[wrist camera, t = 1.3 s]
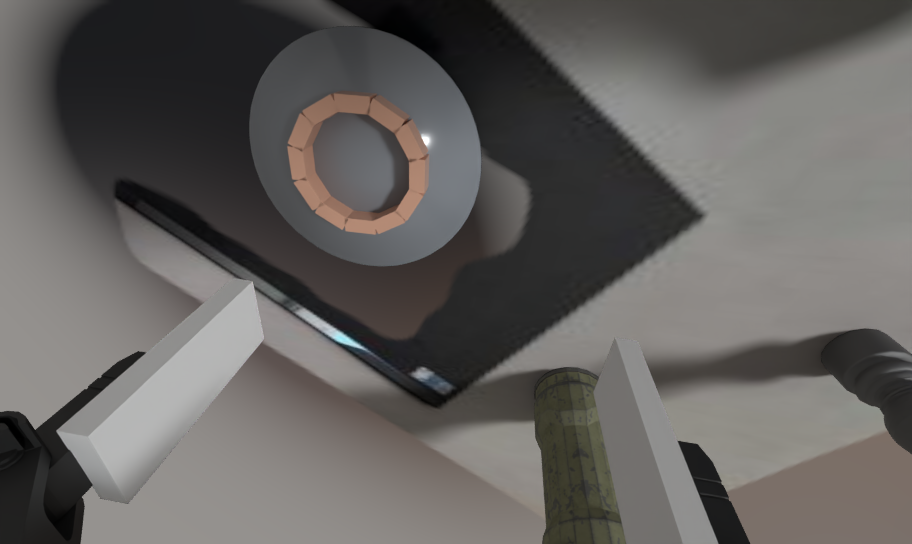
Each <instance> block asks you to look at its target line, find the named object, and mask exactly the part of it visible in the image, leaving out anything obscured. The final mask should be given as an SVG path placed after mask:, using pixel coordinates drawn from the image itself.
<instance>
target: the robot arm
mask: <svg viewBox="0 0 912 544" xmlns="http://www.w3.org/2000/svg"><path fill="white" fill-rule="evenodd" d="M263 340H264V336H263V331H262V326H261V321H260V316H259V311H258V306H257V301H256V296H255V291H254V286H253V281H247V280H241V279H234V278H232V279H231V280H230V281H229V282H228V283H227V284H225V285H224V286H223V287H222V288H221V289H220V290H218V291H217V292H216V293H215V294H214V295H213V296H211V297H210V298H209V299H208V300H207V301H206V302H205V303H203V304H202V305H201V306H200V307H199V308H198V309H197V310H195V311H194V312H193V313H192V314H191V315H190V316H188V317H187V318H186V319H185V320H184V321H183V322H181V323H180V324H179V325H178V326H177V327H176V328H175V329H174V330H172V331H171V332H170V333H169V334H168V335H166V336H165V337H164V338H163V339H162V340H161V341H159V342H158V343H157V344H156V345H155V346H154V347H153V348H151V349H150V350H149V351H148V352H147V353H145V352H139V351H138V352H136V353H134V354H132V355H130V356H128V357H126V358H125V359H122V360H121V361H119V362H117V363H116V364H115V365H113V366H112V367H111V368H110V369H109V370H108V371H106V372H105V373H104V374H103V375H102V377H101V378H98V379H96V380H95V381H94V382H93V383H92V384H90V385H89V386H88V389H84V390H83V391H82V392H81V393H80V394H79V395H77V396H76V397H75V398H74V399H72V400H71V401H70V402H69V403H67V404H66V405H65V406H64V407H63V408H61V409H60V410H59V411H58V412H56V413H55V414H54V415H53V416H52V417H51V418H49V419H48V420H47V421H46V422H44V423H43V424H42V425H41V426H40V427H38V428H37V429H36V430H35V429H34V428H33V426H32V425H31V424H30V422H29V421H28V419H27V418H26V416H24V415H23V414H21V413H20V412H14V411H4V412H0V544H80V542H81V534H82V525H83V515H84V507H85V506H84V501H83V498H82V496H83V495H84V494H85V493H86V492H87V491H88V490H89V488H91V486H93V488H94V489H95V491H96V493H97V494H98V496H99V497H100V498H101V499H104V500H110V501H115V502H120V503H125V504H128V503H129V502H130V501H131V500H132V499H133V497H134V496H135V495H136V494H137V493H138V491H139V490H140V489H141V488H142V487H143V485H144V484H145V483H146V482H147V480H148V479H149V478H150V477H151V475H152V474H153V473H154V472H155V471H156V470H157V468H158V467H159V466H160V465H161V463H162V462H163V461H164V460H165V459H166V457H167V456H168V455H169V454H170V453H171V451H172V450H173V449H174V448H175V446H176V445H177V444H178V443H179V442H180V440H181V439H182V438H183V437H184V435H185V434H186V433H187V432H188V431H189V429H190V428H191V427H192V426H193V425H194V423H195V422H196V421H197V420H198V418H199V417H200V416H201V415H202V414H203V412H204V411H205V410H206V409H207V408H208V406H209V405H210V404H211V403H212V401H213V400H214V399H215V398H216V397H217V395H218V394H219V393H220V392H221V391H222V389H223V388H224V387H225V386H226V385H227V383H228V382H229V381H230V380H231V378H232V377H233V376H234V375H235V374H236V372H237V371H238V370H239V369H240V367H241V366H242V365H243V364H244V363H245V361H246V360H247V359H248V358H249V357H250V355H251V354H252V353H253V352H254V351H255V349H256V348H257V347H258V346H259V344H260V343H261V342H262V341H263ZM593 393H594V398H595V402H596V407H597V411H598V416H599V420H600V425H601V430H602V434H603V439H604V443H605V448H606V453H607V457H608V462H609V466H610V471H611V475H612V480H613V485H614V489H615V494H616V498H617V503H618V508H619V512H620V517H621V521H622V526H623V530H624V535H625V540H626V544H750V542H749V540H748V538H747V536H746V533H745V531H744V529H743V527H742V525H741V523H740V521H739V518H738V516H737V514H736V512H735V510H734V507H733V505H732V503H731V502H730V501H729V497H728V495H727V492H726V490H725V488H724V486H723V485H722V484H721V479H720V477H719V475H718V473H717V471H716V468H715V466H714V464H713V462H712V461H711V460H710V458H709V457H708V456H707V455H706V454H705V452H704V451H703V450H702V449H701V448H700V447H699V445H698V444H694V443H688V442H682V441H677V439H676V436H675V434H674V431H673V429H672V426H671V424H670V421H669V419H668V416H667V414H666V411H665V408H664V406H663V403H662V401H661V398H660V396H659V393H658V391H657V388H656V386H655V383H654V381H653V378H652V376H651V373H650V371H649V368H648V366H647V363H646V361H645V358H644V356H643V353H642V351H641V348H640V346H639V343H638V341H636V340H630V339H623V338H617V337H615V339H614V341H613V344H612V346H611V349H610V351H609V354H608V356H607V359H606V362H605V364H604V367H603V369H602V372H601V374H600V377H599V379H598V382H597V384H596V387H595V390H594V392H593Z"/></svg>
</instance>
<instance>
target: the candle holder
mask: <svg viewBox="0 0 912 544" xmlns="http://www.w3.org/2000/svg"><path fill="white" fill-rule="evenodd" d="M821 361H822V363H823V364H824V366H825V367H826V369H827V370H828V371H829V372H830V373H831V374H832V375H833V376H834V377H835V378H836V379H837V380H838V381H839V382H840V384H841V385H842V386H843V387H844V388H845V389H846V390H847V391H849V392H851V393H853V394H856V396H857V397H858V399H859V400H860V401H862V402H864V403H866V404H868V405H870V406H876V407H878V408H880V410H881V412H882V413H883V415H884V423H885V426H886V428H887V430H888V432H889V434H890V435H891V437H892V438H893V439H894V441H896V443H897V444H898V445H900V446H901V447H902V448H904V449H905V450H907V451H908V452H910V453H911V454H912V354H911V353H909V352H908V351H907V350H906V349H904V348H903V347H902V346H901V345H900V344H898V343H897V342H896V341H895V340H893V339H892V338H891V337H890V336H888V335H887V334H885V333H883V332H881V331H879V330H873V329H861V330H855V331H850V332H848V333H845V334H843V335H841V336H838V337H837V338H835V339H834V340H833V341H831V342H830V343H829V344H828V345H827V346H826V348H825V349H824V351H823V352H822V358H821Z"/></svg>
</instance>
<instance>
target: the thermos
mask: <svg viewBox="0 0 912 544" xmlns="http://www.w3.org/2000/svg"><path fill="white" fill-rule="evenodd" d="M598 379H599V378H598V377H597V376H596V375H594V374H593V373H591V372H589V371H587V370H583V369H580V368H569V367H566V368H560V369H555V370H553V371H551V372H549V373H546V374H545V375H544V376H543V377H541V378H540V379H539V380H538V382H537V384H536V386H535V394H534V395H535V403H534V419H535V437H536V441H537V443H538V445H539V448H540V450H541V455H542V470H543V485H544V500H545V515H546V530H545V533H544V535H543V541H542V544H626V540H625V535H624V530H623V526H622V521H621V517H620V512H619V508H618V503H617V498H616V494H615V489H614V485H613V480H612V475H611V471H610V466H609V462H608V457H607V453H606V448H605V443H604V439H603V434H602V430H601V425H600V420H599V416H598V411H597V407H596V402H595V398H594V393H593V392H594V390H595V387H596V384H597V382H598Z"/></svg>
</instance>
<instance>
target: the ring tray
mask: <svg viewBox="0 0 912 544" xmlns="http://www.w3.org/2000/svg"><path fill="white" fill-rule="evenodd" d="M249 135H250V136H249V138H250V145H251V152H252V156H253V160H254V164H255V168H256V170H257V173H258V176H259V178H260V181H261V183H262V185H263V187H264V189H265V191H266V193H267V195H268V197H269V198H270V200H271V201H272V203H273V204H274V206H275V208H276V209H277V210H278V211H279V213H280V214H281V215H282V216H283V218H284V219H285V220H286V221H287V222H288V223H289V224H290V225H291V226H292V227H293V228H294V229H295V230H296V231H297V232H298V233H299V234H301V235H302V236H303V237H304V238H305V239H307V240H308V241H310V242H311V243H313V244H314V245H315V246H317V247H318V248H320V249H322V250H324V251H326V252H328V253H329V254H332V255H334V256H336V257H339V258H341V259H344V260H348V261H351V262H354V263H359V264H364V265H372V266H395V265H400V264H406V263H410V262H413V261H416V260H419V259H422V258H424V257H426V256H428V255H430V254H432V253H433V252H435V251H436V250H438V249H439V248H441V247H442V246H444V245H445V244H446V243H447V242H448V241H449V240H451V239H452V237H453V236H454V235H455V234H456V233H457V232H458V231H459V230H460V228H461V227H462V225H463V224H464V222H465V221H466V219H467V218H468V216H469V214H470V211H471V209H472V207H473V205H474V202H475V199H476V195H477V192H478V189H479V183H480V177H481V168H482V153H481V143H480V137H479V133H478V128H477V124H476V121H475V119H474V116H473V113H472V111H471V108H470V106H469V104H468V102H467V100H466V98H465V96H464V94H463V93H462V91H461V90H460V88H459V87H458V85H457V84H456V82H455V81H454V79H453V78H452V77H451V76H450V75H449V73H448V72H447V71H446V70H445V69H444V68H443V67H442V66H441V65H440V64H439V63H438V62H437V61H436V60H435V59H434V58H432V57H431V56H430V55H429V54H428V53H427V52H425V51H424V50H422V49H421V48H419V47H418V46H416V45H415V44H413V43H412V42H410V41H407V40H405V39H403V38H401V37H399V36H397V35H395V34H392V33H388V32H385V31H382V30H379V29H373V28H366V27H358V26H348V27H347V26H345V27H344V26H340V27H332V28H326V29H321V30H318V31H315V32H313V33H310V34H307V35H305V36H303V37H301V38H299V39H298V40H296V41H294V42H292V43H291V44H290V45H288V46H287V47H286V48H285V49H284V50H282V51H281V52H280V53H279V54H278V55H277V56H276V58H274V60H273V61H272V62H271V63H270V64H269V66H268V68H267V69H266V70H265V72H264V74H263V75H262V77H261V79H260V81H259V83H258V86H257V88H256V91H255V94H254V97H253V102H252V105H251V111H250V120H249Z"/></svg>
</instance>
